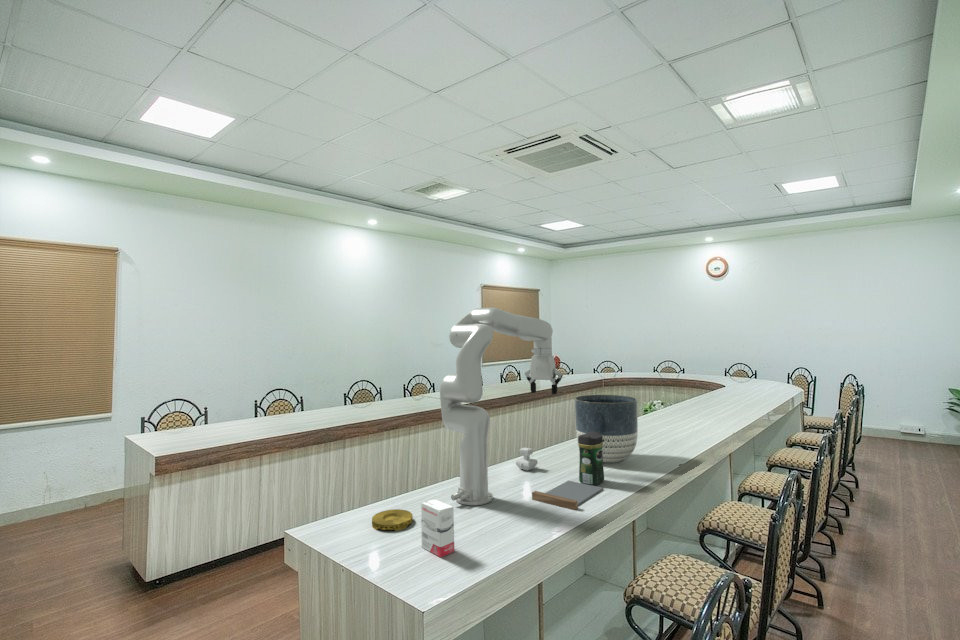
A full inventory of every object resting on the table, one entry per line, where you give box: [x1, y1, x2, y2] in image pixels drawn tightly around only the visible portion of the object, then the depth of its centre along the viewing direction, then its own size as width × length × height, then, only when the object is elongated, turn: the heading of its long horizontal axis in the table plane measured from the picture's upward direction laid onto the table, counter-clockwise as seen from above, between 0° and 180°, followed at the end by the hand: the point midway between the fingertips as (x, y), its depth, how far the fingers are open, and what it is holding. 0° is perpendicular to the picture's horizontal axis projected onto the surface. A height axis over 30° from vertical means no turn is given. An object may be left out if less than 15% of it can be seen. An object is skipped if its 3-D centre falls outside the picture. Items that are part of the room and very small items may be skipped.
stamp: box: [515, 447, 538, 472], centre depth 192 cm, size 9×7×8 cm
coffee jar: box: [577, 432, 605, 486], centre depth 174 cm, size 10×8×19 cm
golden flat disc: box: [371, 508, 414, 532], centre depth 139 cm, size 12×12×2 cm
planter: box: [574, 394, 639, 463], centre depth 204 cm, size 27×27×27 cm
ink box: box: [420, 498, 455, 558], centre depth 122 cm, size 8×5×12 cm, turn 43°
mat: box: [545, 480, 604, 506], centre depth 162 cm, size 21×14×1 cm, turn 141°
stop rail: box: [531, 490, 579, 511], centre depth 153 cm, size 2×16×2 cm, turn 51°
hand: (543, 393), depth 194 cm, fingers open, 9 cm apart
